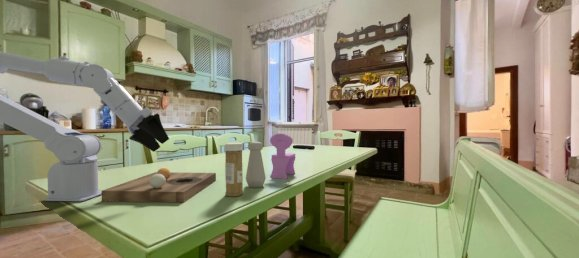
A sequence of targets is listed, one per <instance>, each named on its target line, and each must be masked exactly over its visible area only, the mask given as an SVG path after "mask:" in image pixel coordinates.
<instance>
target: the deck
mask: <svg viewBox="0 0 579 258" xmlns="http://www.w3.org/2000/svg"><path fill="white" fill-rule="evenodd" d="M155 174H157V171H156V172H155V171H154V172H153V173H149V174H146V175H142V176H141V177H138V178H134V179H132V180H129V181H128V180H127V181H126V182H123V183H120V184H118V185H115V186H112V187H108V188H105V189H103V190H102V194H101V202H127V203H129V202H134V203H186V202H187V201H188V200H189V199H191V198H193V197H194V196H195V195H197V194H199V193H200V192H202V191H203V190H204V189H206V188H208V187H209V186H211V184H213V183H214V182H216V181H217V175H216V172H171V171H170V177H169V178H168V179H167V180H166V182H165V184H164V186H162V187H161V188H153V187H152V186H151V185H150V179H151V177H152V176H153V175H155Z"/></svg>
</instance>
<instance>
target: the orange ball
mask: <svg viewBox="0 0 579 258" xmlns="http://www.w3.org/2000/svg"><path fill="white" fill-rule="evenodd" d="M156 172H157V174H162V175H163V176H164V177H165V179H166V180H167V179H168V178H169V177H170V172H171V171H170V169H169V168H166V167H161V168H160V169H158V170H157V171H156Z"/></svg>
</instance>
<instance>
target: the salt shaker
mask: <svg viewBox="0 0 579 258" xmlns="http://www.w3.org/2000/svg"><path fill="white" fill-rule="evenodd" d="M263 147H264V145H263V142H260V141H250V142H249V143H248V145H247V149H248V150H249V155H248V162H247V166H246V167H247V168H246V174H245V175H246V176H245V182H246V184H247V186H248V188H249V187H250V188H262V187H263V186H264V184H265V181H266V179H267V177H266V173H265V168H264V162H263V156H262V152H261V151H262V150H263Z"/></svg>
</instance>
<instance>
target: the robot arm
mask: <svg viewBox="0 0 579 258" xmlns="http://www.w3.org/2000/svg"><path fill="white" fill-rule="evenodd" d="M8 70H14V71H19V72H20V71H21V72H27V73H34V74H39V75H44V76H45V77H46V79H48V80H49V81H50V82H55V83H61V84H67V85H71V86H72V85H73V86H77V87H78V86H79V87H87V88H90V89H92V90H93V91H94V92H95V94H97V95H98V96H99V98H100V99H101V101H102V102H103V103H104V104H105V105H106V106H107V107H108V108H109V109H110V110H111V111H112V112H113V113H114V114H115V115H116V116H117V117H118V119H120V120H121V122H123V124H124V125H125V127H126V128H127V131H128V132H129V134H130V136H129V140H131V141H133V142H136V143H139V144H140V145H142V146H144V147H146V148H147V149H148V150H150V151H151V152H154V153H155V152H157V150H159V149H160V148H161V145H164V144H165V142H168V141H169V140H170V138H169V136H168V133H167V132H166V130H165V129H164V126H163V124H162V121H161V117H160V114H159V113H155V114H154V115H153V111H152V110H151V109H150V108H149V107H148V106H146V107H145V108H143V107H142V106H141V105H140V104H139V103H138V102H137V101H136V99H135V98H134V97H133V96H132V95H131V94H130V93H129V92H128V91H127V90H126V88H124V86H123V85H121V84H120V83H119V82H118V80H117V79H116V77H115V75H114V74H113V72H111V70H109V69H107V68H105V67H103V66H101V65H99V64H93V63H91V62H88V61H84V63H83V62H79V61H74V60H70V58H69V57H66V56H63V55H62V56H61V55H60V56H59V58H58V57H51V58H48V59H47V60H40V59H36V58H32V57H29V56H28V57H27V56H24V55H18V54H13V53H9V52H4V51H0V74H5V73H6V72H7V71H8ZM0 122H1V123H2V124H5V125H7V126H9V127H12V128H13V129H16V130H18V131H20V133H21V132H22V133H24V134H25V135H27V136H30V137H32V138H34V139H36V140H38V141H40V142H42V143H44V148H45V149H47V150H49V151H51V152H52V153H53V154H54V156H56V158H57V159H58V160H60V161H58V162H56V163H53V164H52V165H51V166H50V168H49V169H48V171H47V197H46V198H45V199H44V201H45V202H83V201H84V202H85V201H87V200H90V199H92V198H96V197H97V196H102V190H99V162H98V161H99V160H98V159H99V158H98V156H97V155H98V154H99V153H100V151H101V149H102V142H101V140H100V138H98V137H97V136H96V135H94V134H91V133H83V132H80V131H78V130H75V129H74V128H73V129H72V128H69V127H65V126H63V125H61V124H60V123H57V122H55V121H53V120H51V119H49V118H48V117H45V116H43V115H41V114H39V113H37V112H35V111H34V110H31V109H29V108H27V107H25V106H24V105H21V104H20V103H17V102H16V101H13V100H12V99H10V98H9V97H6V96H3V95H2V94H0ZM159 143H160V144H161V145H160V144H159Z"/></svg>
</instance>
